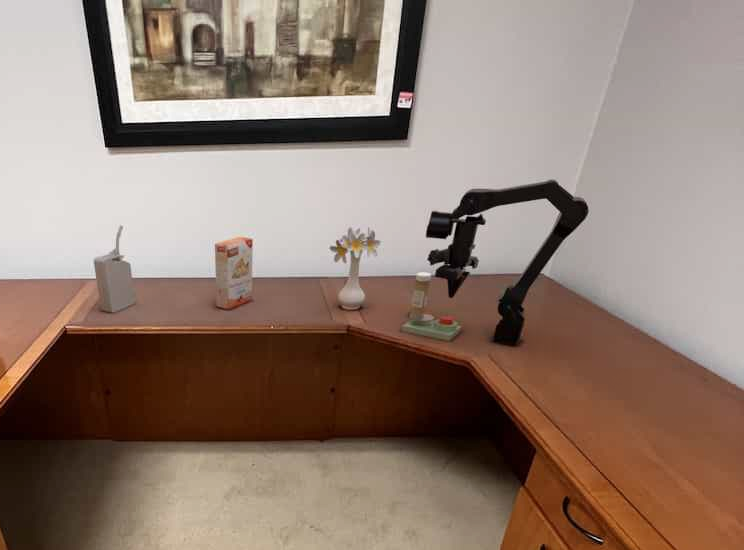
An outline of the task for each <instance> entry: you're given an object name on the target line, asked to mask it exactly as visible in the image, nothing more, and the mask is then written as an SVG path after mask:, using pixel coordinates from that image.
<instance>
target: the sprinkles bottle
mask: <svg viewBox="0 0 744 550" xmlns="http://www.w3.org/2000/svg"><path fill="white" fill-rule="evenodd" d="M431 280H432V274H431V273H430V272H423V271H421V272H417V273H416V275H415V284H414V289H413V295H412V302H411V309H410V314H409V316H410V315H411V314H415V313H424V314H425V311H426V310H425V309H426V305H427V299H428V293H429V287H430V282H431Z"/></svg>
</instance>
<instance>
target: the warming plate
mask: <svg viewBox="0 0 744 550" xmlns="http://www.w3.org/2000/svg"><path fill="white" fill-rule="evenodd" d="M409 319H410V320H415V321H421V322H427V321H432V320H433V321H434V315H432V314H429V313H425V312H424V313H415V314H411V315H410V314H409Z"/></svg>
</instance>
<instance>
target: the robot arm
mask: <svg viewBox="0 0 744 550" xmlns="http://www.w3.org/2000/svg"><path fill="white" fill-rule="evenodd" d="M538 200H547V201H548V202H549V203H550V204H551V205H552V206H553V207H554V208H555V209H556V210H558V211H559V213H558V216H557V217H556V219H555V222H554V223H553V226H552V229H551V231H550V232H549V234H548V235H547V236H546V238H545V239H544V241H543V242H542V244H541V245H540V247H539V248H538V250H537V251H536V253H535V254H534V255H533V257H532V258H531V260H530V261H529V262H528V265H527V266H526V267H525V268H524V270H523V271H522V273H521V274H520V275H519V277H518V279H517V280H515V282H513V283H510V282H507V283H506V285H505V287H504V289H503V291H502V292H501V293H499V294H498V299H497V313H498V314H499V316H501V318H500V319H499V322H498V323H497V324H495V329H494V333H493V338H492V342H493V343H497V344H502V345H507V346H513V347H516V346H517V345H518V344H519V343H520V342H521V340H522V338H521V335H522V333H523V328H524V325H525V322H526V309H525V308H524V306H523V303H524V301H525V299H526V296H527V294H528V292H529V290H530V288H531V287H532V285H533V284H534V282H535V281H536V280H537V278H538V277H539V275H540V274H541V273H542V271H543V270H544V269H545V267H546V265H547V264H548V263H549V261H550V260H551V258H552V257H553V256H554V254H555V253H556V251H557V250H558V249H559V247H560V246H561V245H562V243H563V242H564V241H565V239H566V238H568V237H569V236H570V235H571V234H572V233H573V232H575V231H576V230H577V228H578V227H579V226H580V225H581V224H582V223H583V222H584V221H585V220H586V218H587V217H588V215H589V206H588V203H587V202H586V200H585V199H584V198H583V197H580V196H573V195H572V194H571V193H570V192H569V191H568V190H566V189H565V188H564V187H563V186H562V185H560V184H559V182H558V181H557V180H556V179H548V180H545V181H539V182H534V183H529V184H522V185H517V186H511V187H505V188H499V189H498V188H495V189H493V188H471V189H469V190H467V191H466V192H465V193H464V195H463V196H462V197H461V198H460V202H459V205H458V206H457V207H456V208H454V209H453V210H452V212H443V211H438V210H432V211H431V212H430V218H429V219H428V224H427V226H426V232H425V238H426V239H439V240H447V238H448V237H449V236H450V237H451V236H452V235H453V237H452V241H451V243H450V244H449V245H448V246H447V248H443V249H438V248H436V249H432V250H430V252H429V253H428V256H427V259H426V260H427V261H428V262H429V265H430V266H435V265H436V264H437V265H438V264H440V263H441V264H442V263H443V264H442V265H440V266H439V267H438V268H436V269H435V273H434V278H438V279H443V280H446V281H447V282H446V283H447V292H448V293H447V294H448V295H447V296H448V298H449V299H453V298H454V297H455V296H456V294H457V292H458V291H459V290H460V288H461V286H462V285H463V284H464V282H465V281H466V279H467V278H468V276H469V275H470V274H471V272H470V271H468V270H467V269H466V268H467V267H471V269H473V270H475V269H477V268H478V266H479V258H478V257H477V256H474V255H472V252H473V250H474V249H475V248H476V244H475V239H476V235H477V230H478V226H485V225H486V222H487V220H486V219H485V217H484V216H483V212H486V211H488V210H491V209H493V208H496V207H500V206H501V207H502V206H506V205H514V204H519V203H520V204H521V203H526V202H533V201H538ZM478 214H479V215H478ZM474 215H478V216H474ZM465 216H466V217H465ZM463 217H465V218H463ZM454 226H455V227H454ZM453 230H454V233H453ZM466 270H467V271H466Z"/></svg>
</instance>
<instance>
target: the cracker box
mask: <svg viewBox="0 0 744 550" xmlns="http://www.w3.org/2000/svg"><path fill="white" fill-rule="evenodd" d="M253 241H254V239H253V238H250V237H244V236H238V237H234V238H231V239H227V240H224V241H220V242H216V243H214V261H215V264H214V265H215V298H216V307H217V308H220V309H224V310H231V309H233V308H236V307H238V306H241V305H243V304H247V303H248V302H252V301H253V246H254V245H253V243H254V242H253Z"/></svg>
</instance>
